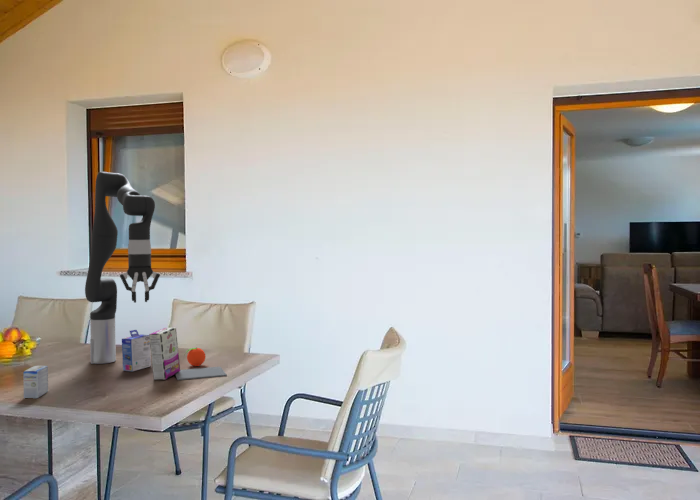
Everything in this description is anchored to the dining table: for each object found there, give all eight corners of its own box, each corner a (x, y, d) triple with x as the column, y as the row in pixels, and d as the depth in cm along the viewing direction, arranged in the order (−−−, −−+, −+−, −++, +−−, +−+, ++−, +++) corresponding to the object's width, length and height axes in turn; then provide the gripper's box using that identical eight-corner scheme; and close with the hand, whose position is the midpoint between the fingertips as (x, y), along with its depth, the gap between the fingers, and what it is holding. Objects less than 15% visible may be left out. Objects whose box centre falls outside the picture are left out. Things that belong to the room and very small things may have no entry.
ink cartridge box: (140, 365, 236) (140, 328, 236) (151, 366, 234) (151, 329, 233) (121, 370, 227) (120, 331, 227) (132, 372, 225) (132, 332, 224)
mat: (177, 380, 212) (177, 378, 212) (173, 371, 225) (173, 370, 225) (226, 375, 218) (226, 374, 218) (220, 367, 231) (220, 366, 231)
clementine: (186, 368, 229) (186, 350, 229) (182, 365, 235) (182, 347, 235) (207, 366, 233) (207, 348, 233) (203, 363, 239) (202, 345, 239)
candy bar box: (168, 371, 223) (164, 327, 222) (180, 371, 222) (177, 327, 221) (152, 380, 212) (148, 333, 211) (165, 380, 211) (161, 333, 210)
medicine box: (34, 392, 197) (33, 365, 197) (48, 391, 197) (48, 365, 197) (23, 398, 189) (22, 371, 189) (38, 398, 189) (37, 370, 189)
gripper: (160, 252, 219) (160, 300, 219) (118, 252, 214) (118, 301, 214) (161, 252, 212) (162, 302, 212) (118, 253, 207) (119, 304, 207)
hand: (140, 301), depth 213 cm, fingers open, 3 cm apart
